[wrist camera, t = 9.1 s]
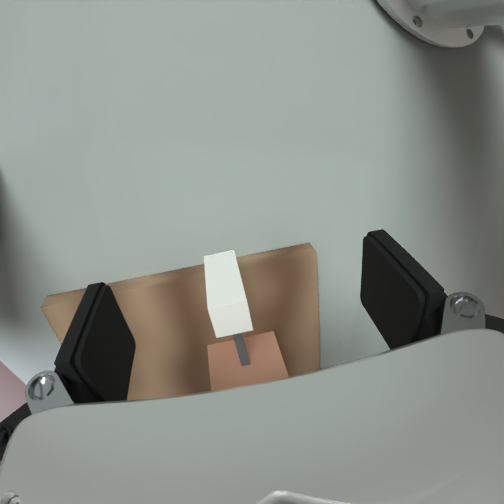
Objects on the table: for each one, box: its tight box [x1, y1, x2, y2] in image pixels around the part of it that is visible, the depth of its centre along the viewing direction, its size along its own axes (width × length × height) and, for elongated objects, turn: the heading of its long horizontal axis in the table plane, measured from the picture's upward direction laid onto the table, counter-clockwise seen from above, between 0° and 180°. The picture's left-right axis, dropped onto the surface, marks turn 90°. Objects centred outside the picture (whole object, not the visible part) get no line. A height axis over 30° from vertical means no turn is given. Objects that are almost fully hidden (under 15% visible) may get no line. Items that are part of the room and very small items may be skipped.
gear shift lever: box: [204, 250, 289, 391], centre depth 20 cm, size 5×13×6 cm, turn 9°
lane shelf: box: [41, 243, 320, 400], centre depth 25 cm, size 20×22×4 cm
